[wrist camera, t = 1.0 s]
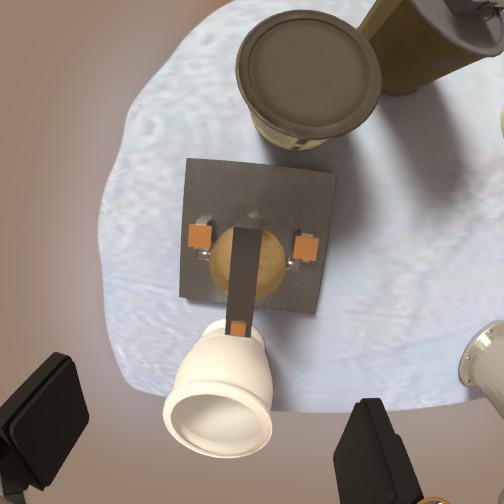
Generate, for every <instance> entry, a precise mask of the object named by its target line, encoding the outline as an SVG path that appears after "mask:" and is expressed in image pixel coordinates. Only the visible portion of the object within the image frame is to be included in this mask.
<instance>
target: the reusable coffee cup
mask: <svg viewBox="0 0 504 504" xmlns="http://www.w3.org/2000/svg"><path fill="white" fill-rule="evenodd" d="M501 129H502V134H503V137H504V106H503V109H502V112H501Z"/></svg>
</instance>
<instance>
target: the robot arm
mask: <svg viewBox="0 0 504 504" xmlns="http://www.w3.org/2000/svg"><path fill="white" fill-rule="evenodd" d="M459 375H460V378H461V380H462V381H463V382H464V384H465V385H467V386H471V387H475V386H478V387H479V388H480V389H481V390H482V392H483V393H484V394H485V396H486V397H487V398H488V399H489V401H490V402H491V403H492V405H493V406H494V407H495V409H496V410H497V412H498V413H499V414H500V416H501V417H502V418H503V419H504V321H497V322H493V323H491V324H489V325H488V326H486V327H485V328H483V329H482V330H481V331H480V332H479V333H478V334H477V335H476V336H475V337H474V338H473V340H472V341H471V342H470V344H469V345H468V347H467V348H466V350H465V352H464V354H463V356H462V359H461V362H460V366H459ZM88 422H89V413H88V410H87V406H86V403H85V400H84V397H83V393H82V389H81V385H80V382H79V378H78V374H77V370H76V366H75V363H74V362H73V361H72V359H71V357H69V356H67V355H64V354H61V353H58V352H54V353H53V354H52V355H51V356H50V357H49V358H48V359H47V360H46V361H45V362H44V363H43V364H42V365H41V366H40V367H39V368H38V369H37V370H36V371H35V372H34V373H33V374H32V375H31V376H30V377H29V378H28V379H27V380H26V381H25V382H24V383H23V384H22V385H21V386H20V387H19V388H18V389H17V390H16V391H15V392H14V393H13V394H12V395H11V396H10V398H9V399H8V400H7V401H6V402H5V403H4V404H3V405H2V406H1V407H0V504H31V503H30V499H29V495H28V490H27V488H28V486H29V485H32V486H33V487H35V488H37V489H39V490H41V491H43V490H44V488H45V487H46V486H49V485H50V484H51V483H52V481H53V480H54V478H55V476H56V475H57V473H58V471H59V469H60V468H61V466H62V464H63V463H64V461H65V460H66V458H67V456H68V455H69V453H70V451H71V450H72V448H73V446H74V445H75V443H76V442H77V440H78V438H79V437H80V435H81V434H82V432H83V430H84V429H85V427H86V425H87V424H88ZM333 462H334V468H335V473H336V480H337V485H338V492H339V497H340V504H450V503H449V502H447V501H446V500H444V499H442V498H439V497H428V498H425V499H424V496H423V493H422V491H421V488H420V485H419V483H418V480H417V477H416V475H415V472H414V469H413V467H412V464H411V462H410V459H409V457H408V454H407V451H406V449H405V446H404V444H403V442H402V439H401V437H400V436H399V435H398V434H395V432H394V430H393V428H392V425H391V422H390V420H389V417H388V415H387V412H386V410H385V408H384V405H383V403H382V401H381V399H380V398H363V399H362V400H361V401H360V403H356V404H355V406H354V408H353V411H352V413H351V416H350V418H349V420H348V423H347V425H346V427H345V430H344V432H343V434H342V437H341V439H340V441H339V443H338V445H337V447H336V450H335V452H334V456H333ZM497 504H504V489H503V490H502V491H501V493H500V495H499V497H498V502H497Z"/></svg>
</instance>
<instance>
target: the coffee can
mask: <svg viewBox="0 0 504 504" xmlns="http://www.w3.org/2000/svg"><path fill="white" fill-rule="evenodd" d="M235 73H236V80H237V84H238V88H239V90H240V93H241V95H242V97H243V99H244V101H245V103H246V104H247V106H248V108H249V110H250V113H251V117H252V120H253V123H254V125H255V127H256V128H257V130H258V132H259V133H260V134H261V135H262V136H263V137H264V138H265V139H266V140H268V141H269V142H270V143H271V144H273V145H276V146H278V147H280V148H283V149H286V150H291V151H304V150H309V149H312V148H315V147H317V146H319V145H321V144H323V143H324V142H326V141H327V140H329V139H332V138H335V137H338V136H341V135H344V134H346V133H348V132H350V131H352V130H354V129H356V128H357V127H359V126H360V125H361V124H362V123H363V122H365V121H366V120H367V119H368V117H369V116H370V115H371V114H372V112H373V110H374V109H375V107H376V105H377V103H378V100H379V97H380V93H381V88H382V75H381V69H380V65H379V62H378V59H377V57H376V54H375V52H374V50H373V49H372V47H371V45H370V44H369V42H368V41H367V40H366V39H365V38H364V36H363V35H362V34H361V33H360V32H359V31H357V30H356V29H355V28H354V27H352V26H351V25H349V24H348V23H346V22H345V21H343V20H341V19H339V18H337V17H335V16H333V15H330V14H327V13H323V12H319V11H313V10H291V11H285V12H282V13H278V14H276V15H273V16H271V17H268V18H267V19H265V20H263V21H262V22H260V23H259V24H257V25H256V26H255V27H254V28H253V29H252V30H251V31H250V32H249V33H248V34H247V36H246V37H245V39H244V40H243V42H242V44H241V46H240V48H239V51H238V54H237V58H236V68H235Z"/></svg>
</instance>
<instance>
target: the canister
mask: <svg viewBox="0 0 504 504" xmlns="http://www.w3.org/2000/svg"><path fill="white" fill-rule="evenodd" d="M503 10H504V2H503V0H376V2H375V3H374V5H373V6H372V8H371V9H370V11H369V12H368V14H367V15H366V17H365V18H364V20H363V21H362V23H361V24H360V26H359V27H358V28H356V30H357V31H359V32H360V33H361V34H362V35H363V36H364V38H365V39H366V40H367V41H368V42H369V44H370V45H371V47H372V49H373V50H374V52H375V54H376V57H377V59H378V62H379V65H380V69H381V75H382V88H381V92H382V93H385V94H388V95H392V96H405V95H409V94H412V93H414V92H415V91H417V90H418V89H419V88H420V87H422V86H424V85H426V84H428V83H430V82H432V81H434V80H436V79H438V78H440V77H443V76H445V75H447V74H449V73H451V72H453V71H456V70H458V69H460V68H462V67H465V66H467V65H469V64H471V63H474V62H476V61H478V60H481V59H483V58H486V57H495V56H498V55H500V54H501V53H502V52H503V51H504V11H503Z"/></svg>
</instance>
